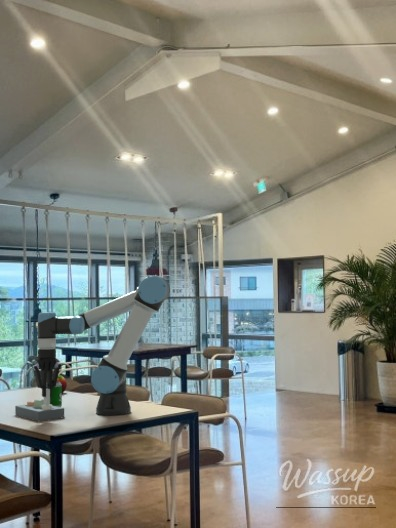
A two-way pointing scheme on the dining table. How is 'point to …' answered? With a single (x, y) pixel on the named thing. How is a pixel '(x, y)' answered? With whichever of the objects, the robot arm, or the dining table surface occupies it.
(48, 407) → the white egg
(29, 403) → the brown egg
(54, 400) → the soda can
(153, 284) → the robot arm
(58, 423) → the dining table surface
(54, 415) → the grey egg holder
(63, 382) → the fruit
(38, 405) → the pale green egg
